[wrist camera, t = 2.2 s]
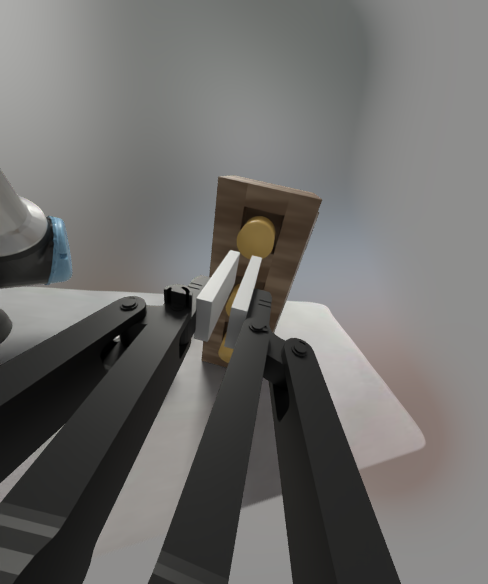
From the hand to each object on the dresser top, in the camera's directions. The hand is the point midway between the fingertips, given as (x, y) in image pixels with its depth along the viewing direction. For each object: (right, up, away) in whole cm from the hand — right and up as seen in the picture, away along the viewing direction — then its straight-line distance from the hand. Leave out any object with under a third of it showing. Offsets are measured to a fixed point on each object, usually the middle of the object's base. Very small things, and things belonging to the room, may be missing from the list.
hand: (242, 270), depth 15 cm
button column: (-2, -16, +29) cm, 33 cm away
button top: (+1, +3, +8) cm, 9 cm away
